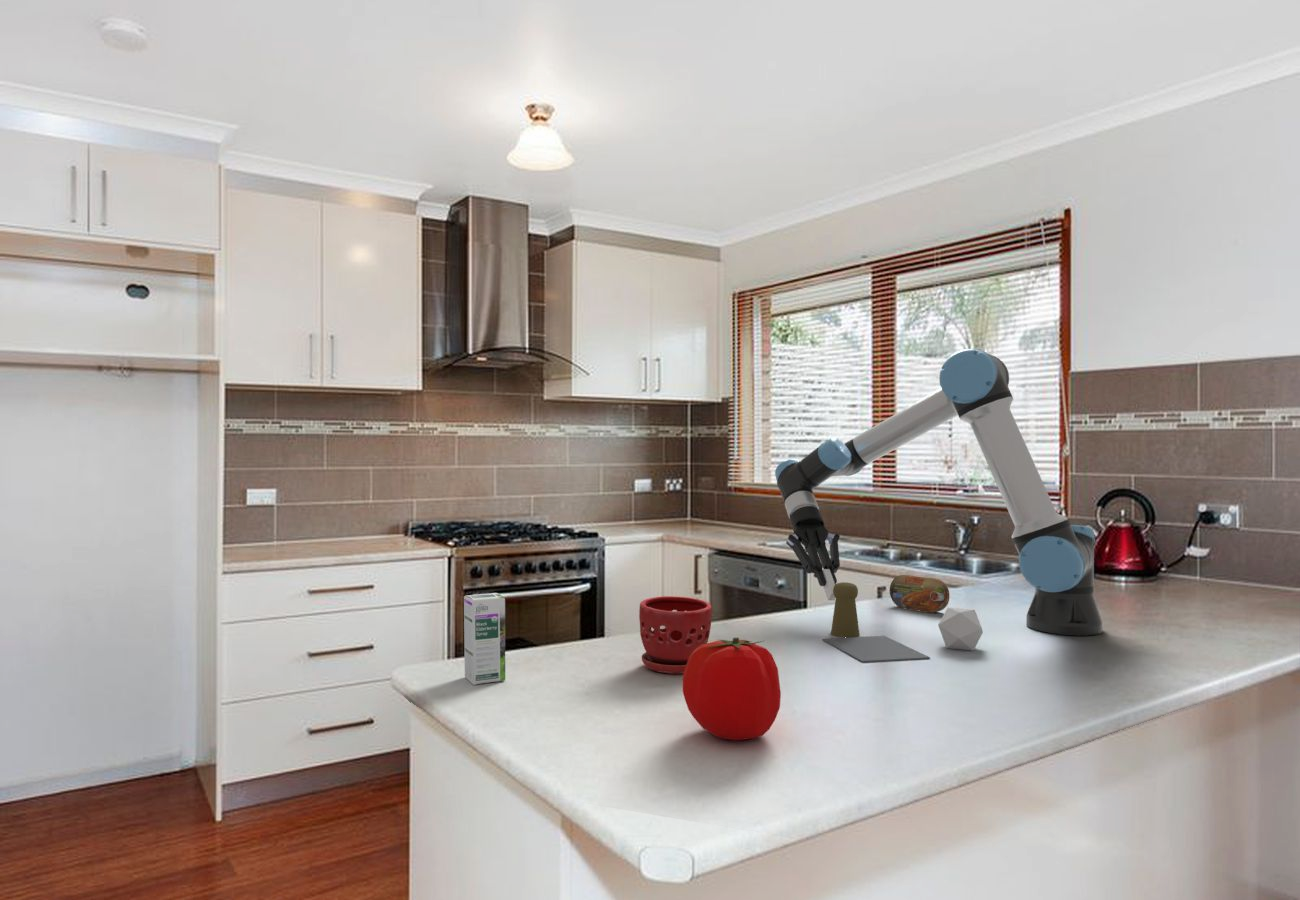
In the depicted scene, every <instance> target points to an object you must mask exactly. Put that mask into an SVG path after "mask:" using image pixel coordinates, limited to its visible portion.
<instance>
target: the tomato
mask: <svg viewBox="0 0 1300 900" xmlns="http://www.w3.org/2000/svg"><path fill="white" fill-rule="evenodd" d="M763 642H764V640H761V641H754V642H753V640H746V639H742V638H741V639H740V638H739V637H733V638H732V640H727V639H719V640H716V641H715V640H714V641H711V642H707V644H703V645H700V646H699V647H698V648H697V649H695V650H694V652H693V653H692V654H691V656H690V657H689V658H688V662H687V665H686V668H685V671H684V673H682V674H683V675H682V693H683V694H682V695H683V697H684V701H685V703H686V707H687V709H688V711H689V713H690V714H691V716H692V718H693V719H694V720H695V721H696V722H697V723H698V725H699V726H700V727H701V728H702V729H703V730H705V731H707V732H709V733H710V734H712V735H714V736H715V737H717V738H718V739H723V740H731V741H744V740H750V739H754V738H759V737H762V736H764V735H765V734H766V733H767V732H768V731H769V730H770V729H771V727H772V726H773V724H774V723H775V721H776V719H777V717H778V716H777V715H778V713H779V711H780V708H781V696H782V695H781V694H782V692H781V685H780V677H779V675H780V674H779V668H778V666H777V663H776V662H775V659H774V656H773V655H772V653H771V652H770V651H769V650H768V649H767V647H763V646H761V645H759V643H763Z"/></svg>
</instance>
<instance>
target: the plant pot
mask: <svg viewBox="0 0 1300 900" xmlns="http://www.w3.org/2000/svg"><path fill="white" fill-rule="evenodd" d="M712 611H713V610H712V605H711V604H710V602H707V601H705V600H703V599H699V598H694V597H687V596H686V597H685V596H676V595H675V596H672V595H671V596H669V595H667V596H666V595H665V596H655V597H650V598H646V599H643V600H642V601H641V602H640V603H639V610H638V612H639V614H638V615H639V618H638V619H639V629H640V630H639V633H640V638H641V644H642V646H643V648H644V651H645V652H644V653H642V655H641V662H642V663H643V665H644V666H645V667H647V668H648V669H650V670H651V671H655V672H658V673H664V674H670V675H671V674H673V675H675V674H676V675H679V674H684V671H685V668H686V665H687V662H688V658H689V657H690V656H691V654H692V653H693V652H694V650H695V649H697V648H698V647H699V646H700V645H703V644H707V643H709V642H708V641H709V638H710V633H711V625H712ZM661 627H664V628H661ZM652 629H653V630H652Z"/></svg>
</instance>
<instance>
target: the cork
mask: <svg viewBox="0 0 1300 900" xmlns="http://www.w3.org/2000/svg"><path fill="white" fill-rule="evenodd" d="M833 594H834V596H835V600H834V606H833V607H834V608H833V616H832V622H831V631H830V634H831V635H832V636H834V637H836V638H845V637H860V628H859V627H860V626H859V620H858V612H857V611H858V610H857V603H856V598H857V597H858V595H859V588H858V587H857V585H856V584H854V583H851V582H837V583H836V584H835V586H834V588H833Z"/></svg>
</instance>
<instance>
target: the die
mask: <svg viewBox="0 0 1300 900" xmlns="http://www.w3.org/2000/svg"><path fill="white" fill-rule="evenodd" d="M937 626H938V628H939V629H938V630H939V631H940V634H941V638H942V639H943V642H944V643H943V644H944V645H945V648H946V649H949V650H951V649H952V650H963V651H972V652H973V651H975V649H976V647H977V645H978V643H979V641H980V639H981V637H982V636H983V627H982V624H981V622H980V619H979V617H978V615H977V612H976V610H975V609H974V608H973V609H972V608H960V607H959V608H958V607H949V606H947V608H946V610H945V612H944V614H943V615H942V616H941V619H940V621H939V622H938V625H937Z"/></svg>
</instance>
